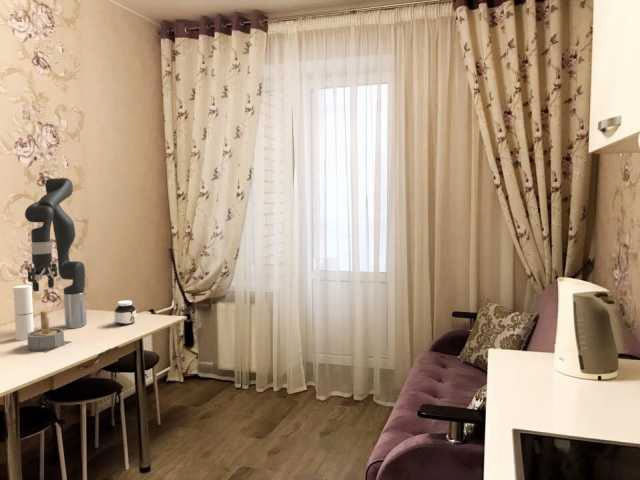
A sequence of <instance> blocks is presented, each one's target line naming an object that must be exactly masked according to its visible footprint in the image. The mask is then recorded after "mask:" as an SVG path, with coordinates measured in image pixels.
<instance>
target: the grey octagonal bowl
mask: <svg viewBox="0 0 640 480" xmlns="http://www.w3.org/2000/svg"><path fill="white" fill-rule="evenodd" d="M64 334H65V333H64V330H63V328H57V327H56V328H55V327H49V333H48V334H42V331H41V329H35V330H34V331H32V332H29V333H27V340H26V341H27V347H28V349H29V350H33V351H42V350H50V349H54V348H56V349H58V347H59V348H61V347H63V346H62V345H63V343H64V341H65V338H64V337H65V335H64ZM60 346H61V347H60ZM54 350H55V349H54Z"/></svg>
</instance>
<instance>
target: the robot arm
mask: <svg viewBox="0 0 640 480" xmlns="http://www.w3.org/2000/svg"><path fill="white" fill-rule="evenodd" d="M73 191H74V186H73V183H72V180H71V179H69V178H68V177H67V178H65V177H60V178H59V177H58V178H56V177H55V178H47V179H46V181H45V192H46V194H44V195H43V196H42V197H41V198H40V199H39V200H38V201H36V202H34V203H32V204H30V205H28V206H27V208H26V209H25V211H24V217H25V219H26V220H27V221H28V222H29V223H42V225H41V226H40V227H34V228H32V229H31V233H30V235H31V263H32V264H33V265H34V266H33V267H28V268H27V281H28V282H29V283H32V292H39V291H40V284H39V281H40V279H41V278H42V277H44V276H45V277H47V286H48V288H54V286H55V282H54V281H55V280H54V279H55V278H56V277H58V274H59V277H60V278H61V279H62V280H69V281H70V280H72V284H71V285H68V286H65V287H64V288H63V302H64V303H63V304H64V305H63V306H64V324H65V325H64V326H65V328H66V329H78V328H82V327H85V326H86V325H87V308H86V304H85V285H86V268H85V264H84V263H83V262H82V261H78V260H77V261H74V260H73V261H71V260H70V256H69V255H70V249H71V247H72V244H74V241H75V239H76V229H75V224H74V221H73V220H72V218H71V217H70V216H69V215H68V214H67V212H65V211H64V209H63V208H62V206H61V205H60V204H61V203H63V201H65V200H66V199H68V198H69V197H71V196H72V194H73ZM52 226H53V227H52ZM51 228H53V234H54V239H55V244H56V245H55V247H56V251H57V252H56V253H57V263H52V262H53V255H52V254H53V252H52V251H53V250H52V242H51Z"/></svg>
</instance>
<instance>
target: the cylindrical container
mask: <svg viewBox="0 0 640 480" xmlns="http://www.w3.org/2000/svg"><path fill="white" fill-rule="evenodd" d="M13 303H14V307H13V308H14V321H15V322H14V323H15V338H16V341H23V342H24V341H27V333H29V332H32V331H35V330H34V329H35V327H34V307H33V285H30V284H25V285H24V284H23V285H15V286H13Z"/></svg>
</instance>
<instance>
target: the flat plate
mask: <svg viewBox="0 0 640 480" xmlns="http://www.w3.org/2000/svg"><path fill="white" fill-rule="evenodd" d="M70 343H73V341H67V340H64V343H63V345H62V346H60V347H58V348H61V347H63V346H66V345H69V344H70ZM58 348H54V349H50V350H42V351H33V350H29V349H28V346H26V347H24V348H20V349H18V351H21V352H33V353H49V352H51V351H53V350H56V349H58Z"/></svg>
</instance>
